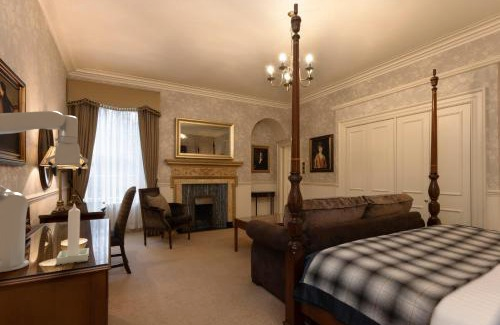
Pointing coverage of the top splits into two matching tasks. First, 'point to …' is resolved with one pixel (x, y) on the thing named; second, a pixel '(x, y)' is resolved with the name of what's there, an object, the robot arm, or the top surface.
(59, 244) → the top surface
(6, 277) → the top surface
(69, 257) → the tray
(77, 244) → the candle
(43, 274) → the top surface
